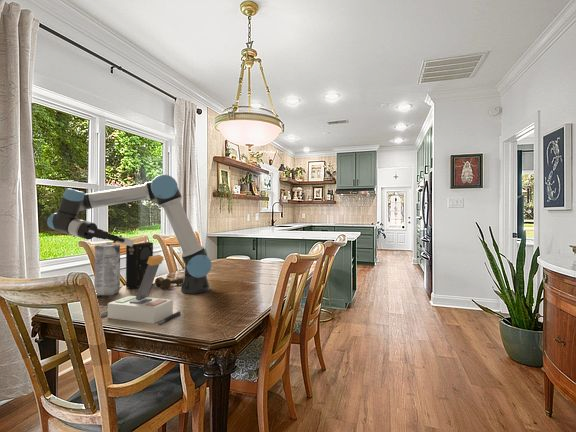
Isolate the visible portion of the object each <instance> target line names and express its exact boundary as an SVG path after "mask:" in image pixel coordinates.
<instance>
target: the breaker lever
mask: <svg viewBox="0 0 576 432" xmlns="http://www.w3.org/2000/svg"><path fill="white" fill-rule="evenodd" d="M163 260H164V256H162V255H161V254H155V255H153V256H150V257H149V259H148V262H147V264H148V266H147V269H146V272H145V274H144V277H143V280H142V283H141V285H140V288H138V290H137V294H136V299H137V300H138V301H139V300H142V299H144V298H147V297H148V296H149V293H150V290H151V288H152V286H153V285H152V284H153V283H154V281H155V277H156V274H157V271H158V269H159V267H160V265H161V264H162V263H163Z"/></svg>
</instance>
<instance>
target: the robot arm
mask: <svg viewBox="0 0 576 432" xmlns="http://www.w3.org/2000/svg"><path fill="white" fill-rule="evenodd" d="M182 198H183V197H182V193H181V192H180V190H179V186H178V183H177V180H176V179H175V178H174V177H173V176H171V175H170V174H159V175H157V176H155V177H154V178H153V179H152V180H151V181H145V183H144V184H139V185H133V186H127V187H126V186H125V187H120V188H116V189H115V188H114V189H108V190H101V191H96V192H95V191H94V192H90V193H89V192H88V193H85V192H84V191H81V190H80V191H79V190H77V189H73V188H65V190H64V193H63V194H62V197H61V201H60V204H59V206H58V210H57V211H56V212H53V213H51V214H50V216H48V218H47V221H46V224H47V227H49V228H50V229H52V230H54V231H57V232H60V233H63V234H67V235H71V236H72V237H73V238H75V237H79V238H82V239H84V240H92V239H93V238H96V239H98V240H100V239H101V240H108V241H112V242H113V244H116V243H118V244H121V245H125V246H127V245H128V246H132V245H133V244H135V240H134V239H130V238H127V237H123V236H122V235H121V234H120V235H116V234H114V233H113V234H112V233H109V232H108V231H105V230H103V229H100V228H98V225H97V224H96V223H94V222H91V221H88V220H85V219H84V220H83V219H81V218H78V216H79V213H80V212H82V211H85V210H90V209H96V208H101V207H109V206H114V205H118V204H125V203H126V204H127V203H130V202H131V203H132V202H136V201H143V200H149V201H156V203H157V205H158V207H161V208H162V209H163V210H164V212H165V215H166V217H167V219H168V221H169V224H170V226H171V229H172V230H173V233H174V235H175V237H176V239H177V242H178V244H179V245H180V248H181V251H182V254H181V258H182V260H183V262H184V276H185V277H184V280H183V283H182V284H181V287H180V289H181V290H180V292H181V293H184V294H188V295H189V294H190V295H194V294H203V293H207V292H209V291H210V290H211V289H210V287H211V286H210V283H209V279H208V277H207V275H208V274H210V272H211V269H212V261H211V258H209V256H208V251H207V249H206V248H205V247H204V246H203V245H201V244H199V241H198V239H197V237H196V234H195V232H194V229H193V227H192V225H191V223H190V221H189V218H188V216H187V213H186V211H185V208H184V207H183V205H182V202H181V201H182Z"/></svg>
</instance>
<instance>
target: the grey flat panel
mask: <svg viewBox="0 0 576 432" xmlns="http://www.w3.org/2000/svg"><path fill="white" fill-rule="evenodd" d="M100 314H101V318H104V317H106V316H108V310H107V311H106V312H103V313H102V312H101V313H100ZM180 315H181V311H179V310H178V311H176V312H173V314H172V315H170V316H168V317H166V318H164V319H162V320H160V321H158V322H157V325H159V326H160V325H162V324H164V323H166V322H169V321H170V320H172V319H174V318H176V317H178V316H180Z"/></svg>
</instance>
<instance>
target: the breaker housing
mask: <svg viewBox="0 0 576 432" xmlns="http://www.w3.org/2000/svg"><path fill="white" fill-rule="evenodd" d="M136 296H137V295H136ZM136 296H135V295H128V296H125V297H122V298H119V299H115V300H113V301H110V302H107V311H108V315H107V319H114V320H123V321H131V322H136V323H137V322H139V323H148V324H155V323H158V321H160V320H162V319H164V318H166V317H168V316H170V315H172V314H174V310H173V309H174V307H173V305H174V300H173V299H166V298H158V297H157V298H156V297H148V296H147V298H144V299H142V300H139V301H138V300H137V299H136Z"/></svg>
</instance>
